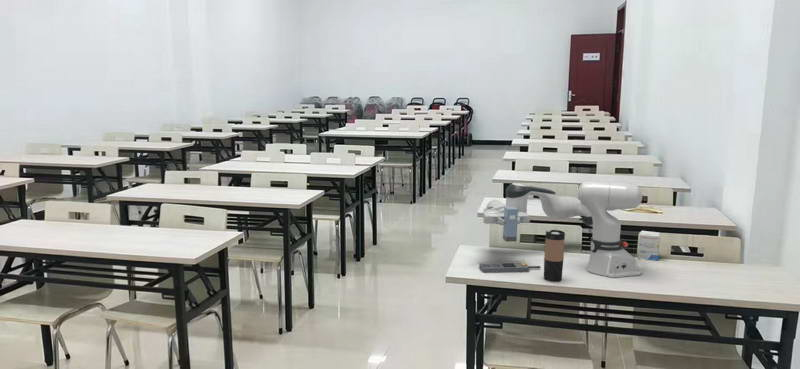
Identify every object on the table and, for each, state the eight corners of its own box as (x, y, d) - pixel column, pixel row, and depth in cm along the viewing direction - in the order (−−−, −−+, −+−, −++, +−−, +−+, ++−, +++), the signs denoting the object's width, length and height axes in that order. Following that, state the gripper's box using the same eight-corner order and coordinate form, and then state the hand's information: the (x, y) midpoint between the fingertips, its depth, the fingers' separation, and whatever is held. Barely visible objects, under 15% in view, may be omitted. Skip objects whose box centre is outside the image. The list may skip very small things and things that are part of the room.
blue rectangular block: (513, 238, 255) (514, 206, 252) (516, 241, 250) (518, 209, 248) (502, 238, 254) (504, 206, 252) (505, 241, 250) (507, 209, 247)
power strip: (537, 266, 260) (537, 261, 259) (542, 271, 253) (542, 266, 252) (479, 267, 257) (479, 262, 256) (483, 272, 250) (483, 267, 250)
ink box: (658, 256, 278) (660, 232, 275) (657, 261, 270) (660, 236, 268) (638, 253, 281) (640, 230, 279) (637, 258, 274) (639, 234, 271)
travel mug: (562, 282, 239) (565, 235, 236) (543, 281, 241) (546, 233, 237) (561, 276, 246) (564, 230, 243) (542, 275, 248) (545, 229, 244)
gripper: (524, 221, 265) (534, 229, 252) (479, 221, 263) (487, 229, 250) (525, 207, 264) (535, 214, 251) (480, 208, 262) (488, 215, 248)
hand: (511, 222), depth 250 cm, fingers closed on blue rectangular block, 5 cm apart
